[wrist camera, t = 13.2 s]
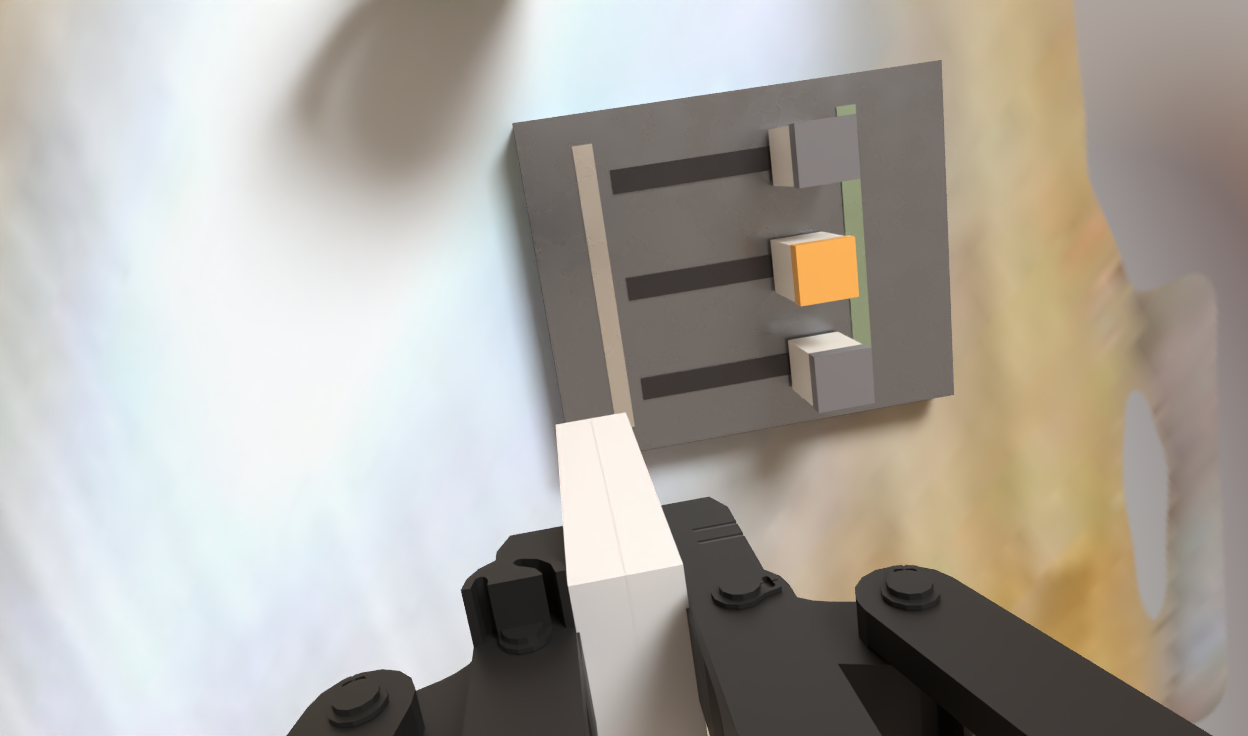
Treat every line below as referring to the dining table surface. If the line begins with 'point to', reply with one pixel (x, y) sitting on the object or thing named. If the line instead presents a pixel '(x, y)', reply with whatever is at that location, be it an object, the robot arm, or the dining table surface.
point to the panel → (735, 252)
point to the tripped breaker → (815, 267)
